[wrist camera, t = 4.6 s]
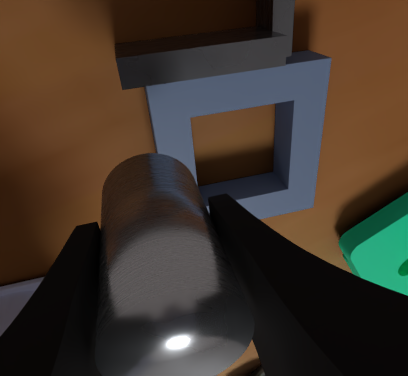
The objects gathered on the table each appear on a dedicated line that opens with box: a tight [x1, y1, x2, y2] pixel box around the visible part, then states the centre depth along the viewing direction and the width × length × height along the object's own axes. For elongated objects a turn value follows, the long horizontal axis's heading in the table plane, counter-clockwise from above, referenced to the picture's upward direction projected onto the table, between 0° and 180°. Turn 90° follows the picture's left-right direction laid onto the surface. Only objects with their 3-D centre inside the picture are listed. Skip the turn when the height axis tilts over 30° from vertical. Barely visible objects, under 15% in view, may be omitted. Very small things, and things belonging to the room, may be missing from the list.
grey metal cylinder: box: [95, 153, 255, 376], centre depth 9 cm, size 3×3×6 cm
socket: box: [145, 50, 331, 219], centre depth 19 cm, size 9×9×2 cm
